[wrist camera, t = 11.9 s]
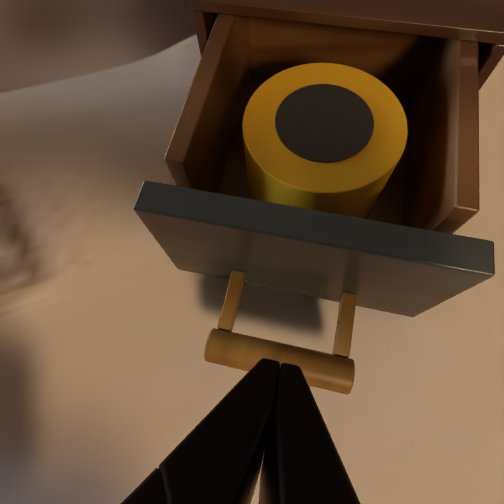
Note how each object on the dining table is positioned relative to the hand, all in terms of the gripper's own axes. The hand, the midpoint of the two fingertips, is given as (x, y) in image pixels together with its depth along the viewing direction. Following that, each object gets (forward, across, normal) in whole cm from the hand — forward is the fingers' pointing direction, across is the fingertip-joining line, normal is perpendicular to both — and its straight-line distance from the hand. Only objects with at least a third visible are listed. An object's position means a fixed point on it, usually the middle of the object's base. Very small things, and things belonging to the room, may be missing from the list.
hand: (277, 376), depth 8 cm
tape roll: (+12, 0, -1) cm, 12 cm away
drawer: (+12, 0, 0) cm, 12 cm away
